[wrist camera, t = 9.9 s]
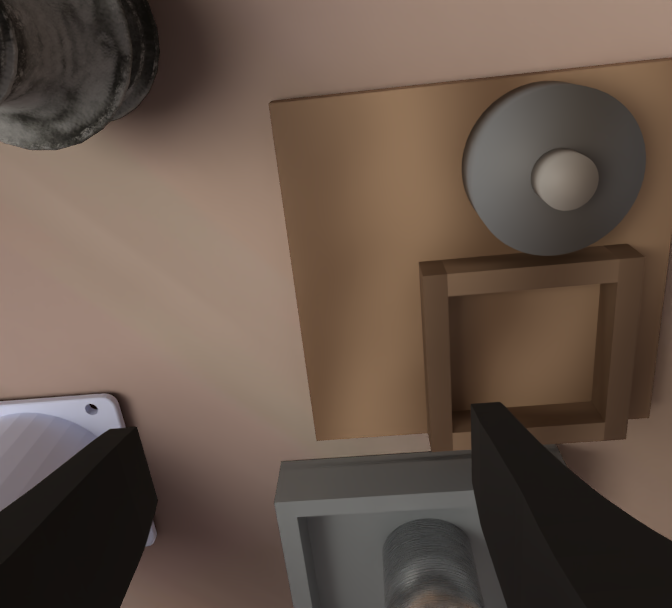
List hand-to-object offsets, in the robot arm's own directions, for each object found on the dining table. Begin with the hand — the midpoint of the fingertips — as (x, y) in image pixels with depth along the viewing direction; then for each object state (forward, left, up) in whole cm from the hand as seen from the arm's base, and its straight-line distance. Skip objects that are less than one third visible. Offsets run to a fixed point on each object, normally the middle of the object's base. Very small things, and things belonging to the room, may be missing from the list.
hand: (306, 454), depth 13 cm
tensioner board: (+5, 0, -10) cm, 12 cm away
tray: (+3, -14, -10) cm, 18 cm away
